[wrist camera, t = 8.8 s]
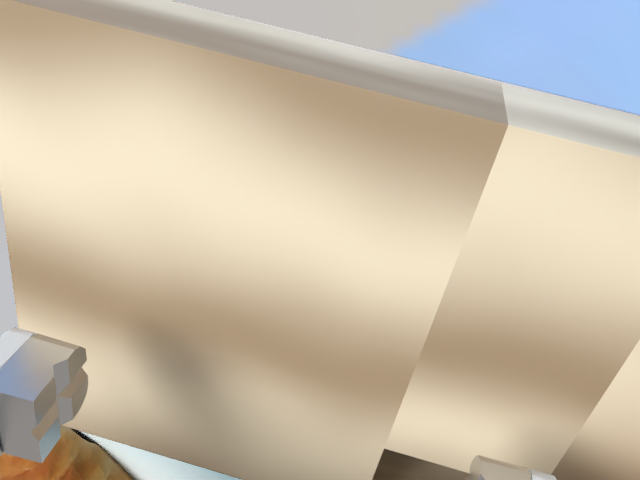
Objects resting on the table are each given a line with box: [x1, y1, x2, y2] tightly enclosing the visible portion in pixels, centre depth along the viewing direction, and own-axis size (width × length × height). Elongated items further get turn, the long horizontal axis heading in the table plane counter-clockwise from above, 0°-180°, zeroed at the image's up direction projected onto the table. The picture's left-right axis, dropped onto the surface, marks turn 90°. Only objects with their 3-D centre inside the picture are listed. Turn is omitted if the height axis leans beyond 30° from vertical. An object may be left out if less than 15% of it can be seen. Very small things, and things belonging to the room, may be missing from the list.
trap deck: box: [0, 0, 640, 480], centre depth 13 cm, size 12×22×6 cm, turn 80°
